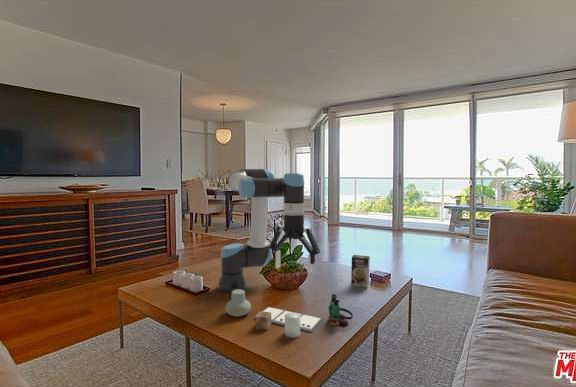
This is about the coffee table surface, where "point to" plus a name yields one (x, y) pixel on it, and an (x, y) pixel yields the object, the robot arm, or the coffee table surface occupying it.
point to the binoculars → (337, 312)
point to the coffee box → (360, 271)
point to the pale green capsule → (292, 325)
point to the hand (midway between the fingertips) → (293, 269)
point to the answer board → (278, 315)
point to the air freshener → (238, 304)
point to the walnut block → (263, 320)
